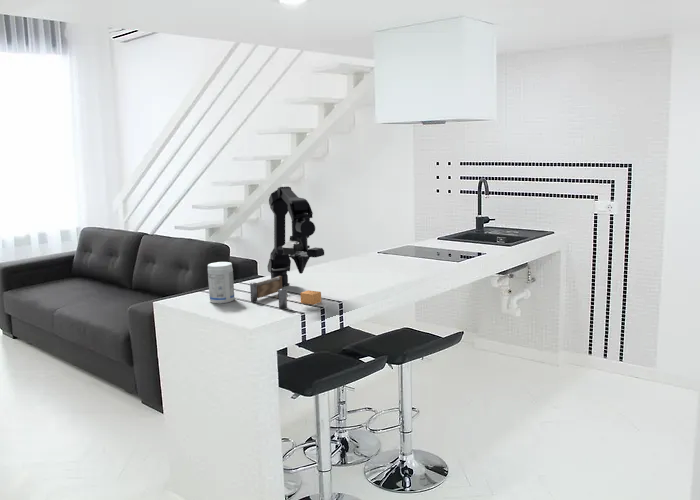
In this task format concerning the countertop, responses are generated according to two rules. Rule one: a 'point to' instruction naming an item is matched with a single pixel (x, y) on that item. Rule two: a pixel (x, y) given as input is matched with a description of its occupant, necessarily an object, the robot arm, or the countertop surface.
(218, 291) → the supplement tub
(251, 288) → the gate posts
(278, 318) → the countertop surface
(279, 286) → the gate
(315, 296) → the orange-brown rectangular block
